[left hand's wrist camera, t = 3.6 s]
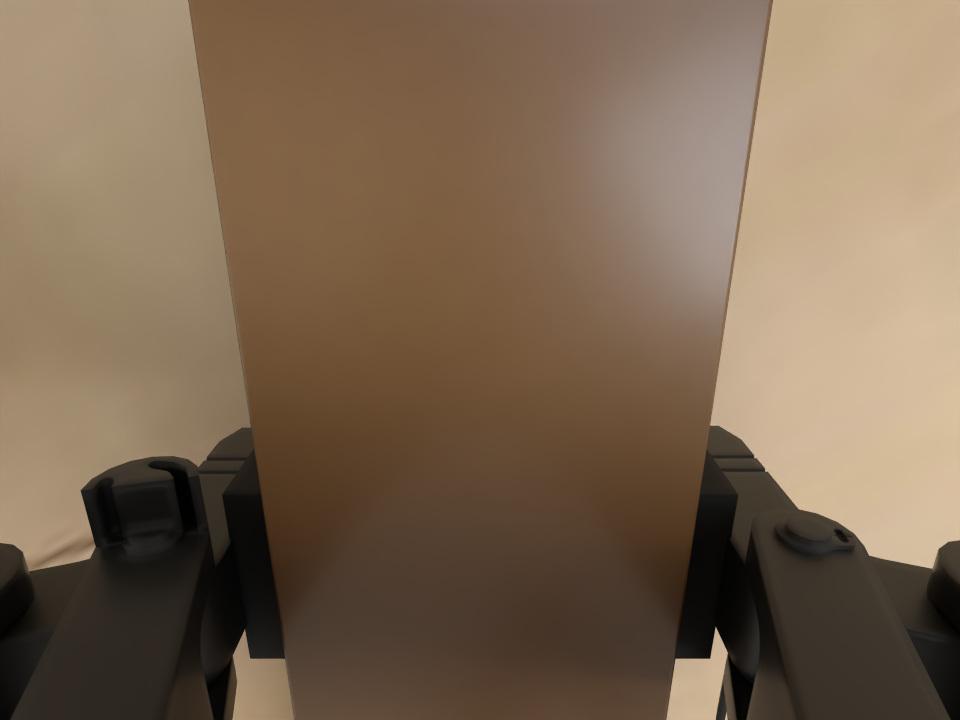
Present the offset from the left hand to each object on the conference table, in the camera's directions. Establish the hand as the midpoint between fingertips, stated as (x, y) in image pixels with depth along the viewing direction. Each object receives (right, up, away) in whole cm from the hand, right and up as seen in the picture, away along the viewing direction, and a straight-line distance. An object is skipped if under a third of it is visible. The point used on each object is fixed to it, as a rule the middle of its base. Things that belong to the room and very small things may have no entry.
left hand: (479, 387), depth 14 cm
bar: (0, -18, +8) cm, 20 cm away
